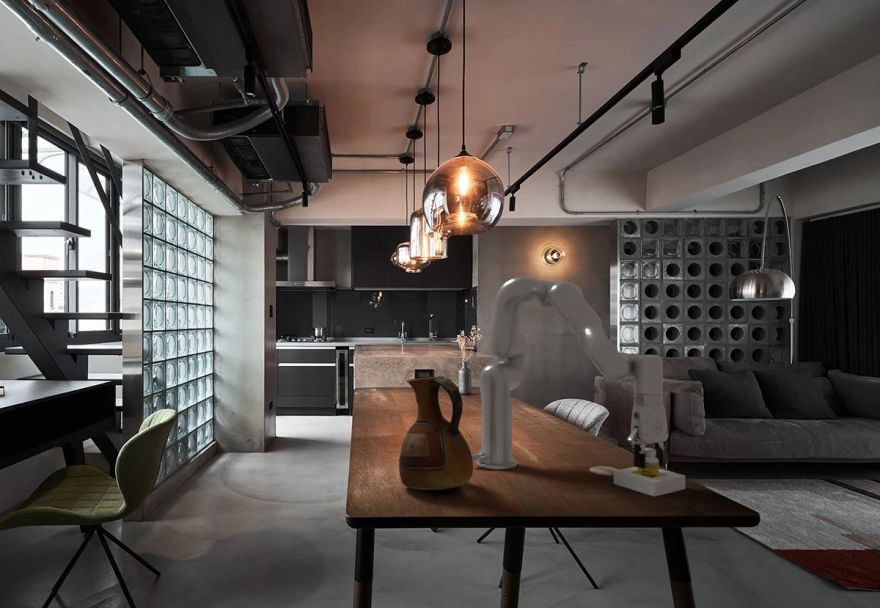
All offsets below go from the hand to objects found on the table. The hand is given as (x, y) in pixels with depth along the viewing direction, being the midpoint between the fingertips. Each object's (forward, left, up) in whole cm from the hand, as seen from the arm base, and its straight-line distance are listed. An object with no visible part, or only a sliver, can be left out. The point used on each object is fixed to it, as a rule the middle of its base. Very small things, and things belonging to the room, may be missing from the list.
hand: (648, 465), depth 147 cm
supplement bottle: (0, 0, -6) cm, 6 cm away
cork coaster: (+2, +17, -6) cm, 18 cm away
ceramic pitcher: (-51, +28, -6) cm, 58 cm away
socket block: (0, 0, -6) cm, 6 cm away
